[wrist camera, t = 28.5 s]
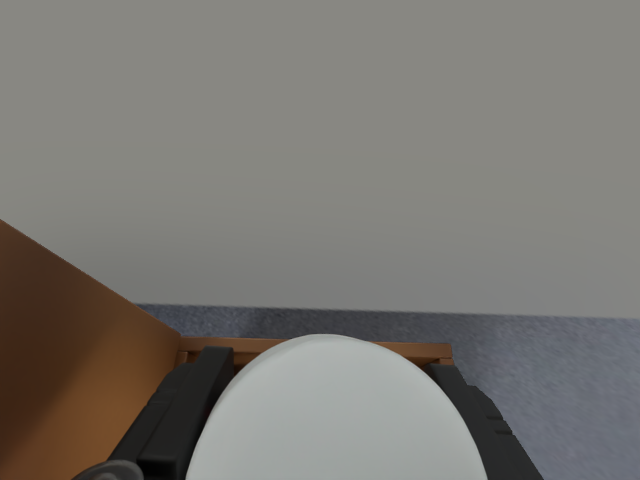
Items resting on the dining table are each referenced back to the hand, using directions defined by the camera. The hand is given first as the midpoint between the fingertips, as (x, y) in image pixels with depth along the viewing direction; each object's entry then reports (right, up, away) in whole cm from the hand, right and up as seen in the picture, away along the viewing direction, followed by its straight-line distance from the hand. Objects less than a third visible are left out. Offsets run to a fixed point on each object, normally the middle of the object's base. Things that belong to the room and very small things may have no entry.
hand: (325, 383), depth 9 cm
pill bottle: (0, -4, +3) cm, 5 cm away
